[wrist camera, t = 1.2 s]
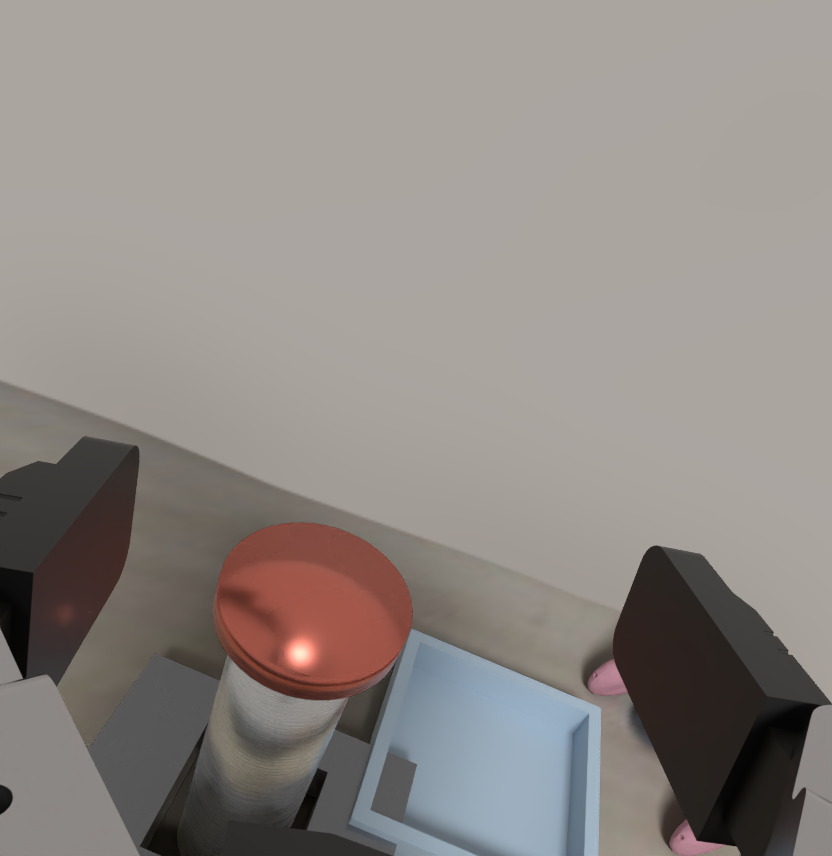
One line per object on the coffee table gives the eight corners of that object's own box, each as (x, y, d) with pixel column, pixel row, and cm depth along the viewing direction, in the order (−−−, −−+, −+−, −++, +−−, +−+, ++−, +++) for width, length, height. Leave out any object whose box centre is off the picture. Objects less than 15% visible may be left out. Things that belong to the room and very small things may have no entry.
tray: (335, 848, 30) (351, 818, 28) (396, 658, 38) (411, 628, 37) (569, 949, 30) (596, 922, 28) (579, 735, 38) (601, 708, 37)
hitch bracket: (10, 889, 25) (11, 861, 24) (149, 681, 33) (155, 653, 32) (338, 1031, 25) (354, 1009, 24) (402, 789, 33) (417, 764, 32)
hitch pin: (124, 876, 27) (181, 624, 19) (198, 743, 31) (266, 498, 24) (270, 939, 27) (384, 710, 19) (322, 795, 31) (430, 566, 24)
